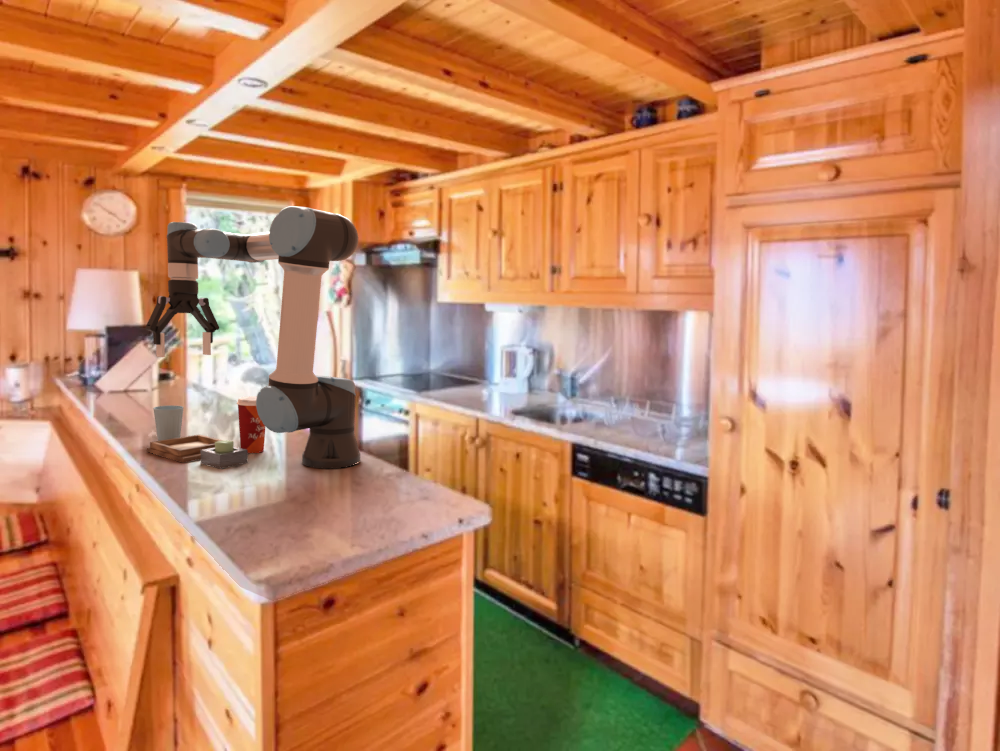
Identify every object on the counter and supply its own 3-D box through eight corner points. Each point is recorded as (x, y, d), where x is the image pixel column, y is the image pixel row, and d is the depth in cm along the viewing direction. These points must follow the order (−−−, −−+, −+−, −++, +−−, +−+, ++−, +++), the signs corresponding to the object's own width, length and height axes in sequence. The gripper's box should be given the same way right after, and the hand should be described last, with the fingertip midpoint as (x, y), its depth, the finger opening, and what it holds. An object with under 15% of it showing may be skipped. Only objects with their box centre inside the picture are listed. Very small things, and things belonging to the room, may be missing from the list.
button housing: (247, 462, 166) (247, 449, 165) (219, 468, 159) (219, 455, 159) (228, 457, 170) (228, 444, 170) (200, 463, 163) (200, 450, 163)
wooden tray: (235, 452, 176) (235, 442, 175) (183, 462, 163) (183, 451, 163) (198, 443, 184) (198, 433, 184) (146, 452, 172) (146, 441, 171)
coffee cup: (257, 455, 174) (257, 401, 172) (230, 452, 175) (230, 399, 174) (273, 449, 182) (274, 397, 180) (248, 446, 183) (248, 395, 182)
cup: (150, 446, 178) (149, 409, 177) (158, 440, 186) (157, 405, 185) (179, 446, 180) (179, 409, 179) (186, 440, 188) (186, 405, 187)
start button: (237, 457, 165) (237, 442, 165) (221, 460, 161) (221, 444, 161) (226, 454, 167) (226, 439, 167) (211, 457, 164) (211, 442, 163)
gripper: (215, 281, 189) (216, 353, 191) (130, 276, 168) (131, 356, 170) (231, 282, 185) (232, 354, 187) (145, 276, 164) (147, 358, 166)
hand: (184, 355), depth 179 cm, fingers open, 13 cm apart
